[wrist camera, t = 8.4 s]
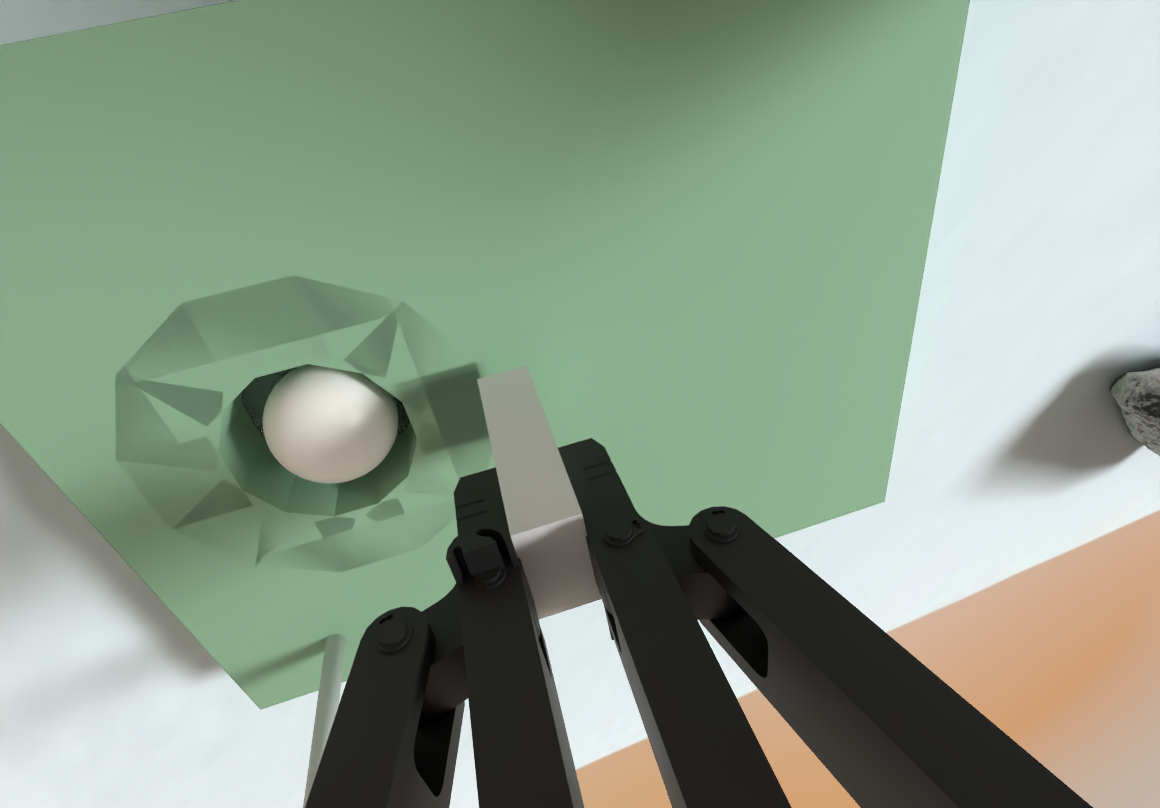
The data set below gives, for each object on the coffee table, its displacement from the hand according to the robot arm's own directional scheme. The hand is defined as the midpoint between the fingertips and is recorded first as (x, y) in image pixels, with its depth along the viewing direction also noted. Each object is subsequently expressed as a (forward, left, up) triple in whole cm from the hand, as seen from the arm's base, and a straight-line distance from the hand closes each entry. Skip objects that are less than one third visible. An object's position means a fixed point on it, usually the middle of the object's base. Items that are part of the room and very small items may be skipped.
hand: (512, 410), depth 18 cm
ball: (0, -6, -2) cm, 6 cm away
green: (0, 0, -4) cm, 4 cm away
